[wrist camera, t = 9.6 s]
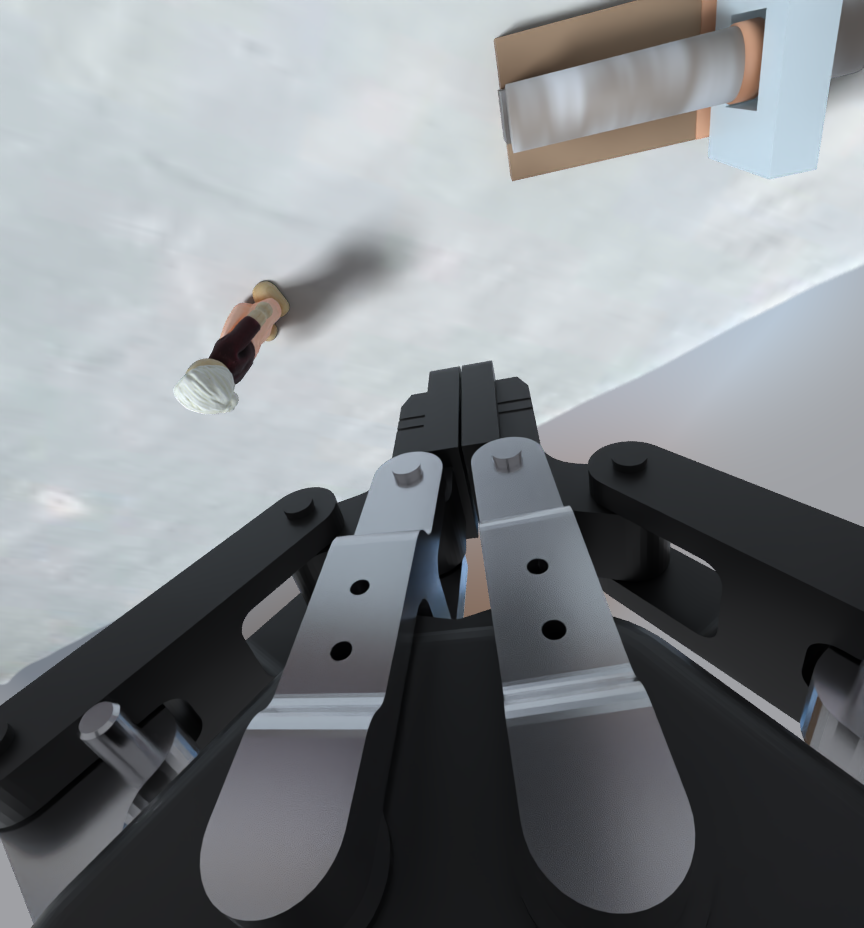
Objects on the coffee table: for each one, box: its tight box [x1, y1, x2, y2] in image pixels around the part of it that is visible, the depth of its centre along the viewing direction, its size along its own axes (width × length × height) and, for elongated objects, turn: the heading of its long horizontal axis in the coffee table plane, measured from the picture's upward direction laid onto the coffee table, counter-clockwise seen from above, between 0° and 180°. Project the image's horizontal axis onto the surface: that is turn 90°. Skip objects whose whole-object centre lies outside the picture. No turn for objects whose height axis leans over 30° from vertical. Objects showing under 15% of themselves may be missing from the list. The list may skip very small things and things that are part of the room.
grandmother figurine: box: [174, 281, 289, 415], centre depth 36 cm, size 8×4×13 cm, turn 156°
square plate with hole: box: [708, 0, 843, 179], centre depth 26 cm, size 9×2×8 cm, turn 12°
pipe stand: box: [494, 0, 864, 181], centre depth 29 cm, size 7×16×8 cm, turn 102°
